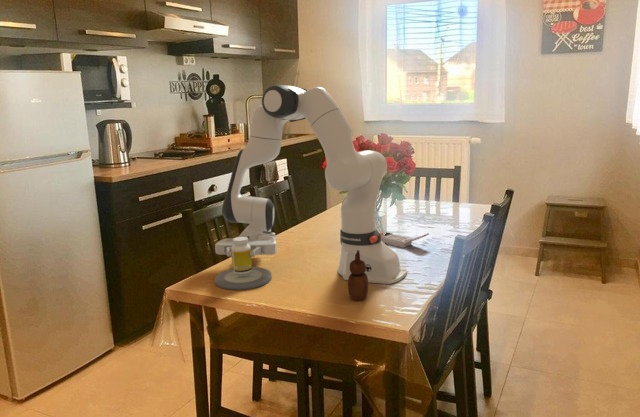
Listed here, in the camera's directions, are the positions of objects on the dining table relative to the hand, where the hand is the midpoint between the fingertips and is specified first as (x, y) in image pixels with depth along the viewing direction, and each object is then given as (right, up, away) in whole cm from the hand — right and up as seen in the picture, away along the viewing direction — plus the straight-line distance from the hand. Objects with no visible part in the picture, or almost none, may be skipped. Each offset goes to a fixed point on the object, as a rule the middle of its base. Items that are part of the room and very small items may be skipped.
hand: (240, 254), depth 168 cm
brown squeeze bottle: (+36, -11, -15) cm, 41 cm away
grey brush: (+55, +1, +34) cm, 64 cm away
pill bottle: (0, -6, +2) cm, 6 cm away
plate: (0, -8, +3) cm, 9 cm away
